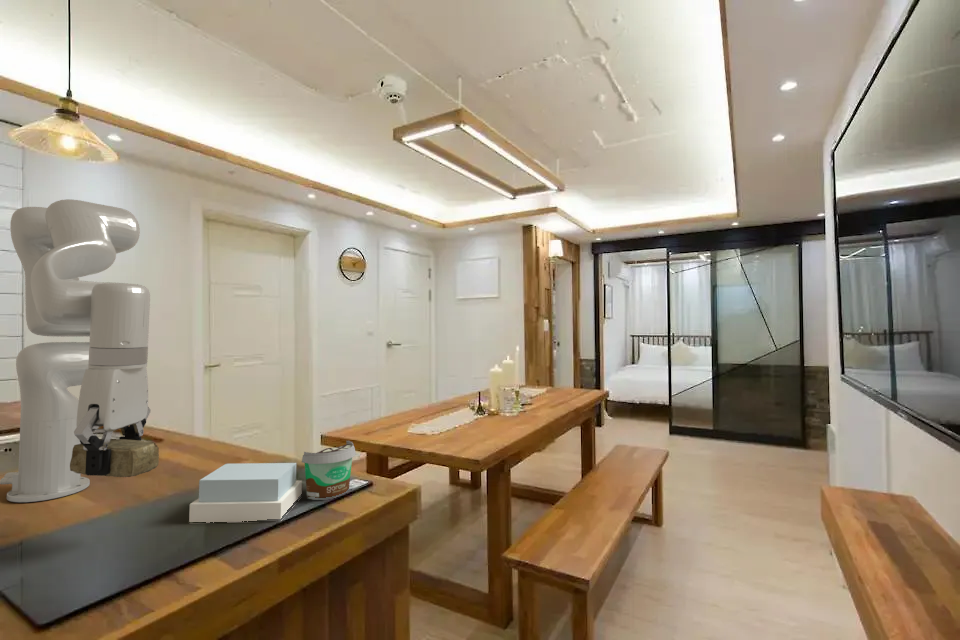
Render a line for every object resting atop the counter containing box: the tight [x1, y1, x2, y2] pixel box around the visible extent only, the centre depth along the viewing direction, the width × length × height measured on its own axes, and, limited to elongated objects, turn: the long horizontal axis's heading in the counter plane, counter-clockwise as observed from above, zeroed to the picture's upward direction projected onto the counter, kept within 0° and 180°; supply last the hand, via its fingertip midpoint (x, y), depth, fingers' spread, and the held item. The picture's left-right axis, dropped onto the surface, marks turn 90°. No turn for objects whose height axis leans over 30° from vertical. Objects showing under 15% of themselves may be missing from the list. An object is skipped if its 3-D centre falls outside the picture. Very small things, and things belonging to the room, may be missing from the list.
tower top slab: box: [198, 462, 297, 502], centre depth 86 cm, size 14×10×4 cm
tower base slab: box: [188, 480, 303, 524], centre depth 86 cm, size 16×12×4 cm
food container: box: [301, 440, 356, 498], centre depth 94 cm, size 12×6×10 cm, turn 148°
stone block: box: [70, 438, 160, 478], centre depth 73 cm, size 6×12×5 cm, turn 85°
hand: (114, 466), depth 73 cm, fingers closed on stone block, 6 cm apart
